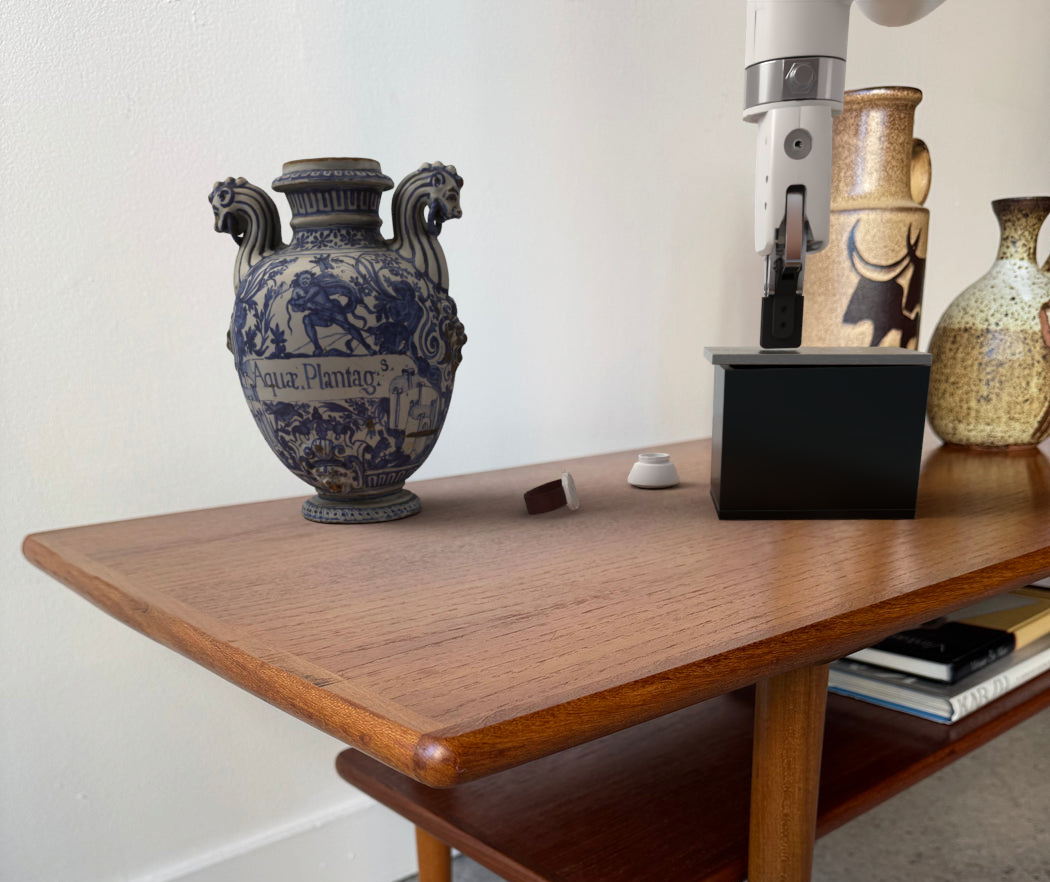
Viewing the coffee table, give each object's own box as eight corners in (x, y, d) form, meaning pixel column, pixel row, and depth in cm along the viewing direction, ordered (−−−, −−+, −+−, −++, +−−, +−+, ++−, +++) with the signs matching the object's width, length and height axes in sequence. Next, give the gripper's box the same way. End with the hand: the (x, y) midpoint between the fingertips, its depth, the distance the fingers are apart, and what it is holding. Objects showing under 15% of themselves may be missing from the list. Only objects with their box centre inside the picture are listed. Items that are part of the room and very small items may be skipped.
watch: (570, 520, 87) (569, 476, 86) (515, 519, 88) (514, 476, 87) (584, 503, 94) (584, 463, 93) (533, 503, 95) (532, 462, 94)
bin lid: (711, 364, 81) (712, 353, 81) (703, 356, 93) (703, 346, 93) (931, 364, 80) (932, 353, 79) (894, 356, 91) (895, 346, 91)
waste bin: (718, 520, 86) (724, 370, 81) (709, 493, 97) (714, 360, 93) (914, 518, 84) (931, 365, 80) (881, 491, 96) (894, 356, 91)
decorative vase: (203, 534, 86) (150, 154, 76) (286, 494, 103) (251, 180, 93) (455, 535, 83) (435, 139, 73) (497, 494, 100) (485, 168, 90)
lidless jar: (640, 480, 105) (619, 488, 101) (641, 450, 104) (619, 457, 100) (687, 483, 103) (667, 491, 99) (687, 452, 102) (667, 459, 98)
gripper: (862, 73, 72) (842, 351, 79) (827, 109, 86) (812, 343, 93) (752, 79, 73) (741, 353, 80) (735, 114, 87) (727, 345, 94)
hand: (780, 347), depth 86 cm, fingers closed
